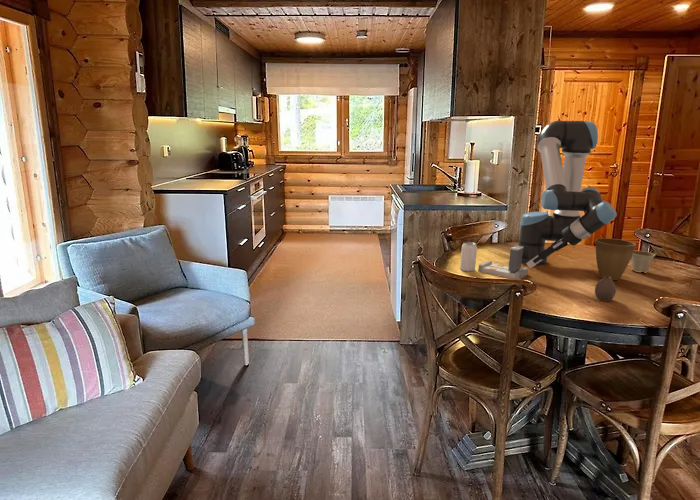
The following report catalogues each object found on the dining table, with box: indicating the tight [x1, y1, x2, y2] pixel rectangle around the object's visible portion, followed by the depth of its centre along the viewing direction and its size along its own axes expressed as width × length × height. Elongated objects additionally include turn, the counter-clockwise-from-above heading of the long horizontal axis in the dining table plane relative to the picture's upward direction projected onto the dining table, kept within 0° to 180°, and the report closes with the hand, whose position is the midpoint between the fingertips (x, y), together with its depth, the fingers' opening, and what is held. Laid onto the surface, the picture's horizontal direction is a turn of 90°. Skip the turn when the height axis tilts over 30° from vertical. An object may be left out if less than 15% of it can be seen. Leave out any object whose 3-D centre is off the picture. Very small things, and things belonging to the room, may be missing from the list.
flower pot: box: [631, 250, 656, 272], centre depth 219 cm, size 9×9×9 cm
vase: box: [594, 276, 617, 302], centre depth 181 cm, size 7×7×9 cm
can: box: [459, 241, 478, 272], centre depth 215 cm, size 6×6×12 cm
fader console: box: [477, 260, 529, 280], centre depth 212 cm, size 18×10×3 cm, turn 51°
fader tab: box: [508, 245, 523, 272], centre depth 208 cm, size 3×6×12 cm, turn 140°
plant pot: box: [595, 237, 637, 281], centre depth 207 cm, size 15×15×16 cm
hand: (528, 265), depth 205 cm, fingers closed
